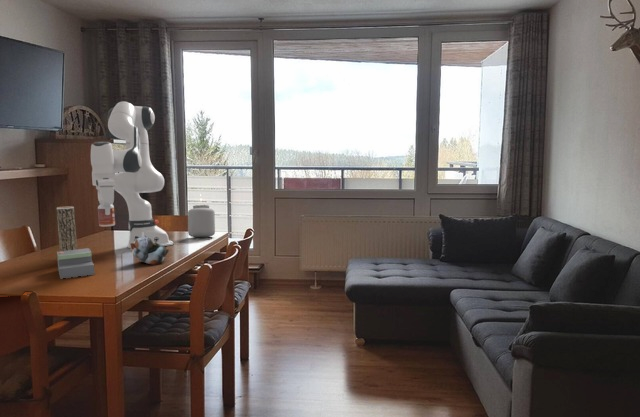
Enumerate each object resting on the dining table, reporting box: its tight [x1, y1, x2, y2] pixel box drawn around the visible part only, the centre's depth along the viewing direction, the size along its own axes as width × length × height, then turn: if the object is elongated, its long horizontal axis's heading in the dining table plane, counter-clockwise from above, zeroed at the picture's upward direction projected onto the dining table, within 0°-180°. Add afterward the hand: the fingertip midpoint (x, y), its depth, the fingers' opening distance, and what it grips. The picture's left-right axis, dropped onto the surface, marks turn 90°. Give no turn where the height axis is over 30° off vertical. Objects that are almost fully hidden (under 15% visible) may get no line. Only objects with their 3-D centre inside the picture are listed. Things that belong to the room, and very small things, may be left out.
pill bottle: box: [97, 200, 116, 228], centre depth 199 cm, size 6×6×11 cm
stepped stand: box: [56, 247, 96, 280], centre depth 193 cm, size 12×17×8 cm
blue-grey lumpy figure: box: [130, 236, 170, 266], centre depth 209 cm, size 15×12×14 cm
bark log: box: [56, 205, 78, 251], centre depth 211 cm, size 7×7×25 cm
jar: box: [187, 194, 216, 238], centre depth 270 cm, size 19×15×25 cm
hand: (106, 213), depth 199 cm, fingers closed on pill bottle, 6 cm apart
